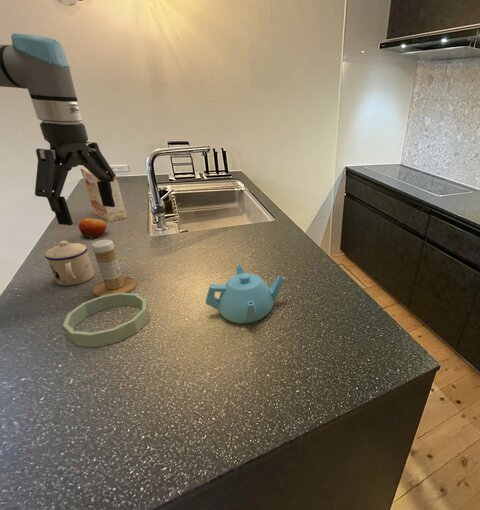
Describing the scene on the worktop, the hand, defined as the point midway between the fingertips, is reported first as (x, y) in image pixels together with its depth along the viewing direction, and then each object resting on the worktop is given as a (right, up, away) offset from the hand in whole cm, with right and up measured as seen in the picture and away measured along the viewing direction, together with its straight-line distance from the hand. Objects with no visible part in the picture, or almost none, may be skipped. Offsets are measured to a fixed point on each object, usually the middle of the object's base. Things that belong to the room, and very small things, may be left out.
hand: (89, 214), depth 76 cm
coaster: (-1, -19, +10) cm, 22 cm away
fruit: (-29, -3, +38) cm, 48 cm away
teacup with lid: (-14, -18, +12) cm, 25 cm away
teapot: (+38, -25, +6) cm, 46 cm away
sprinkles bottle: (-1, -19, +10) cm, 21 cm away
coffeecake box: (-37, +7, +56) cm, 68 cm away
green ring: (+7, -27, -2) cm, 28 cm away
